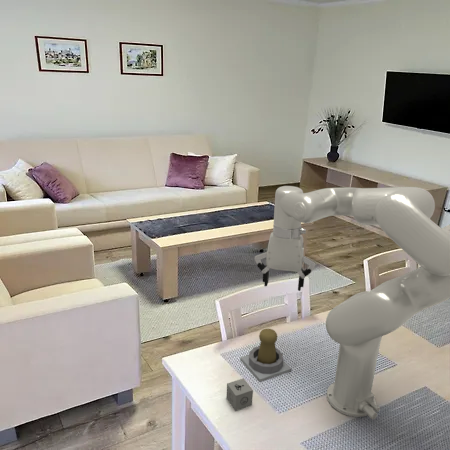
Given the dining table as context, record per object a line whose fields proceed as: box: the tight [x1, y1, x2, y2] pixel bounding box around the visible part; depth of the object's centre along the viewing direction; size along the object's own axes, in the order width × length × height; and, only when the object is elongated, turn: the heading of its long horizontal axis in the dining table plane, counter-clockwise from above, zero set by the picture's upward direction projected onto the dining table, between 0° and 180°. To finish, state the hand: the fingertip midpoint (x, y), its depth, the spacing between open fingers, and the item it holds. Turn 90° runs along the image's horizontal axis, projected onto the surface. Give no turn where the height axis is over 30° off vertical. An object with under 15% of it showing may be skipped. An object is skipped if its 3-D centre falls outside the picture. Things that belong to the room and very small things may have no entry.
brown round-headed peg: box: [257, 328, 278, 364], centre depth 125 cm, size 6×6×11 cm
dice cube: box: [225, 378, 254, 412], centre depth 112 cm, size 5×5×5 cm
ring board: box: [239, 345, 293, 383], centre depth 126 cm, size 11×11×4 cm
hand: (282, 286), depth 124 cm, fingers open, 9 cm apart
